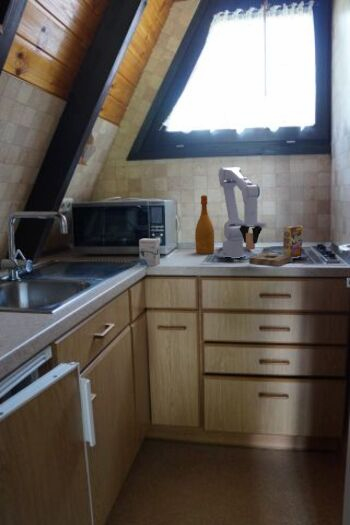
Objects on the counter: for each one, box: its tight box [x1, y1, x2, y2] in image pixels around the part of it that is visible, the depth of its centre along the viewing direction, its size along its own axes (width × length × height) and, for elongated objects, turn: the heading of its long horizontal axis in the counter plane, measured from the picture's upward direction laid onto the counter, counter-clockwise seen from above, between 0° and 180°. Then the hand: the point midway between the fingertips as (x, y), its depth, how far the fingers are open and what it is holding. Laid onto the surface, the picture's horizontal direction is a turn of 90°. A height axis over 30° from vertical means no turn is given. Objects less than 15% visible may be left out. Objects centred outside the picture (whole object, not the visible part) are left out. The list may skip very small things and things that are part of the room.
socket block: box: [248, 252, 292, 267], centre depth 194 cm, size 14×14×2 cm
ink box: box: [138, 237, 161, 266], centre depth 198 cm, size 9×5×12 cm, turn 71°
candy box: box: [282, 225, 304, 258], centre depth 200 cm, size 9×4×15 cm, turn 123°
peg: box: [245, 232, 256, 250], centre depth 191 cm, size 4×4×7 cm
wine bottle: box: [194, 194, 215, 255], centre depth 221 cm, size 10×10×30 cm
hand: (250, 243), depth 191 cm, fingers closed on peg, 4 cm apart
